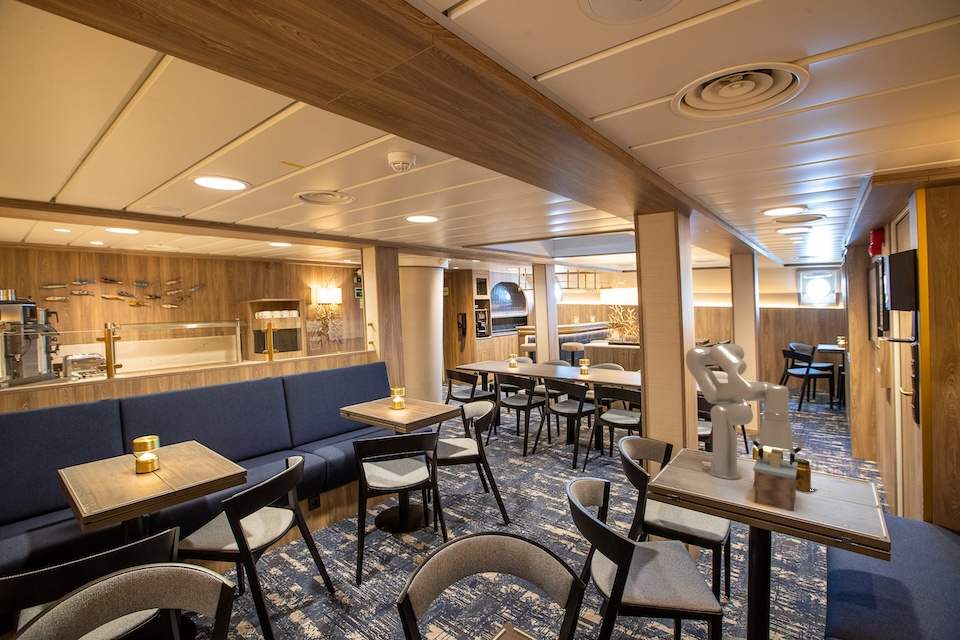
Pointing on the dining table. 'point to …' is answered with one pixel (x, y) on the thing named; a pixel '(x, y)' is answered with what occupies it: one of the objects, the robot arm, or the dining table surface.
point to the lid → (776, 465)
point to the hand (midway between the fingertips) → (776, 461)
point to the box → (775, 491)
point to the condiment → (803, 476)
